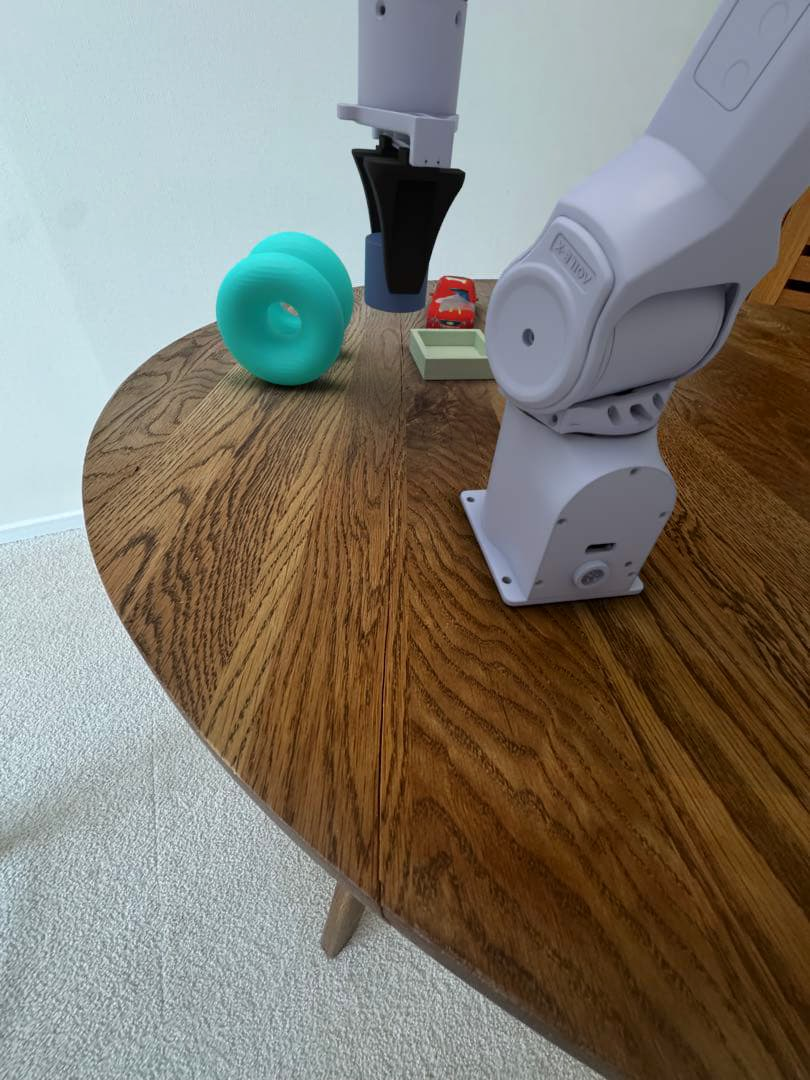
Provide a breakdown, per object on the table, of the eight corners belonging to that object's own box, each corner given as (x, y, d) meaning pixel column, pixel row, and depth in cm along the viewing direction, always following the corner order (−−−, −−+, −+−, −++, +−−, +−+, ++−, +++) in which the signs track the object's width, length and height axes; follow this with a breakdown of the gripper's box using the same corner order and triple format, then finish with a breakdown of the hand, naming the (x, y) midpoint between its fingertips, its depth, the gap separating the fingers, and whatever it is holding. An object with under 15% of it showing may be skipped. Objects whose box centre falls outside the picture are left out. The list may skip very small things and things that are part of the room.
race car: (472, 344, 53) (478, 304, 50) (421, 338, 53) (424, 298, 51) (477, 304, 63) (483, 269, 60) (434, 299, 63) (438, 264, 60)
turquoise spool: (355, 349, 50) (355, 233, 43) (342, 396, 42) (341, 264, 35) (253, 341, 49) (238, 223, 43) (222, 386, 42) (198, 251, 35)
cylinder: (431, 313, 35) (438, 249, 32) (368, 313, 34) (370, 246, 32) (418, 293, 38) (423, 233, 35) (360, 292, 37) (361, 230, 35)
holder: (498, 379, 47) (502, 358, 46) (423, 380, 46) (425, 358, 44) (476, 348, 52) (479, 328, 51) (408, 348, 51) (410, 328, 49)
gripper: (325, 2, 31) (331, 252, 40) (352, -33, 20) (351, 317, 29) (437, 16, 32) (418, 255, 41) (516, -10, 22) (467, 318, 31)
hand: (397, 281), depth 35 cm, fingers closed on cylinder, 4 cm apart
